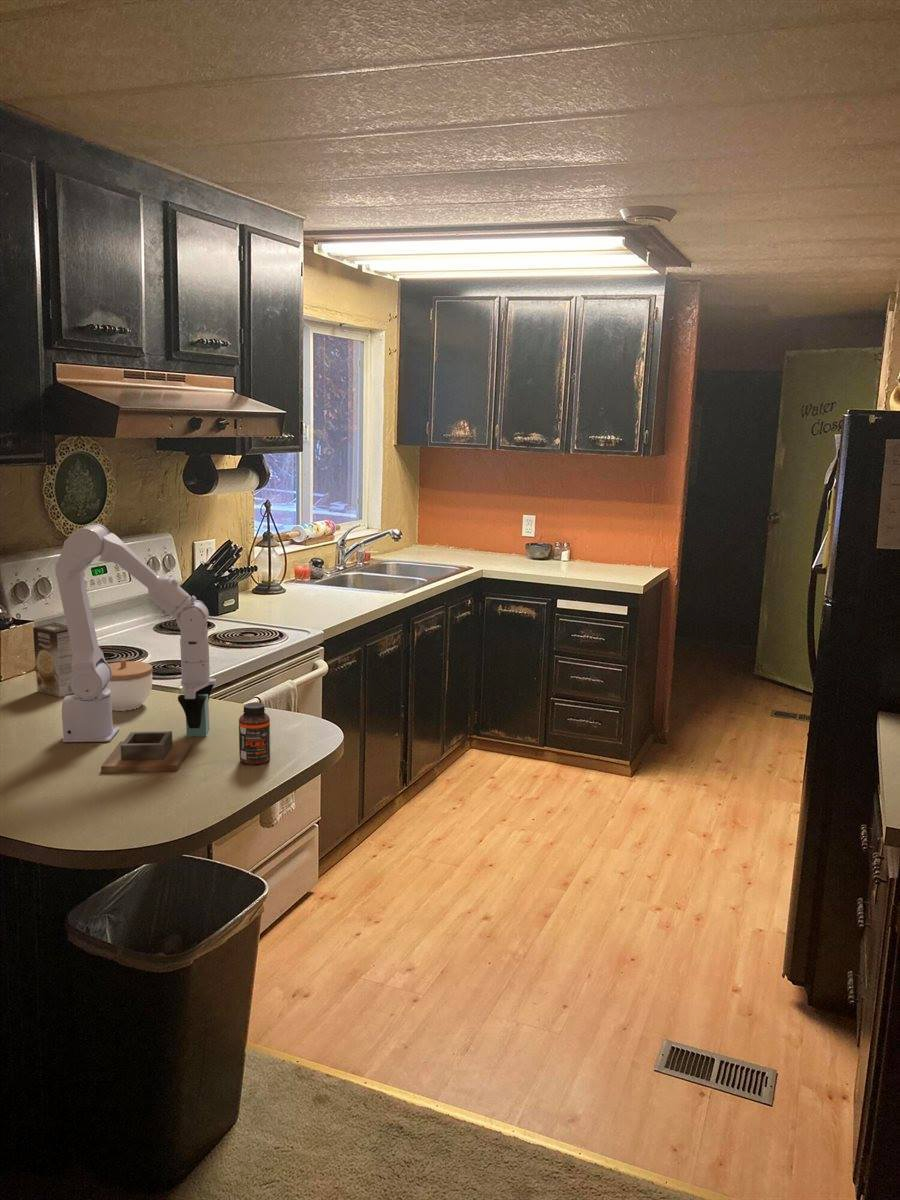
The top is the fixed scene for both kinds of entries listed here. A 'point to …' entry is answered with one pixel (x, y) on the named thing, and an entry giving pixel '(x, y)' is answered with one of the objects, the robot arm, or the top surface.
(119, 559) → the robot arm
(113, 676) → the lidded bowl
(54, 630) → the coffee box
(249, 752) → the supplement bottle
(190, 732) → the block
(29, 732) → the top surface
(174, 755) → the end holder
